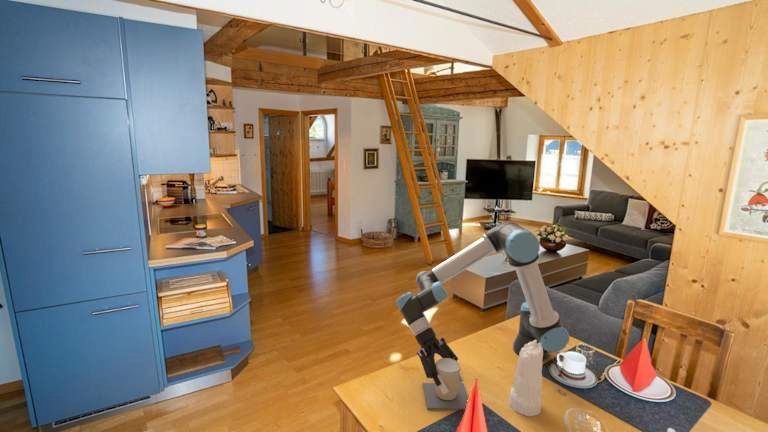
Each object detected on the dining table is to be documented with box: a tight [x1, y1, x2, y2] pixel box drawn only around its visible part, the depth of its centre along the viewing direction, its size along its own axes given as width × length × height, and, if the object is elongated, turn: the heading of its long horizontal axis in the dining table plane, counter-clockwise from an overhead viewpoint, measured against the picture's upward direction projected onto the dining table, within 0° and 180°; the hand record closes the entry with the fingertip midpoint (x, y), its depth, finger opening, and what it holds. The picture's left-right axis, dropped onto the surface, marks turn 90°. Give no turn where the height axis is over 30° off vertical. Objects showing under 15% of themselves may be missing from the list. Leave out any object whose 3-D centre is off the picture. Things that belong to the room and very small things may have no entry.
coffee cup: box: [435, 357, 462, 400], centre depth 146 cm, size 9×9×12 cm
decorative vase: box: [508, 340, 544, 417], centre depth 141 cm, size 11×11×25 cm
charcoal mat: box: [422, 382, 469, 411], centre depth 147 cm, size 16×14×1 cm
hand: (454, 387), depth 144 cm, fingers closed on coffee cup, 9 cm apart
